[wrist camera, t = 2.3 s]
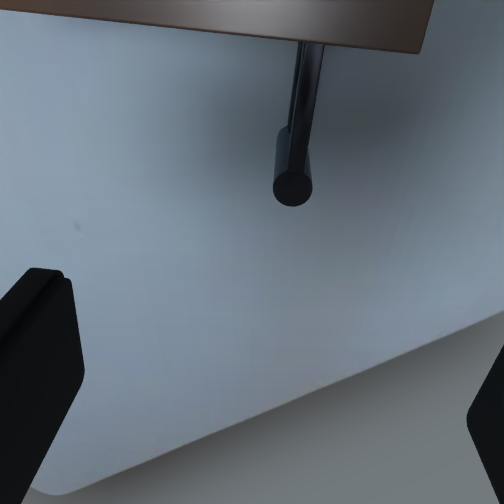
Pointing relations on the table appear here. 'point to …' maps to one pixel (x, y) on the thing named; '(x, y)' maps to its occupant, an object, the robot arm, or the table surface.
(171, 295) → the table surface
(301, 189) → the sliding door
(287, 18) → the cabinet
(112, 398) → the table surface
